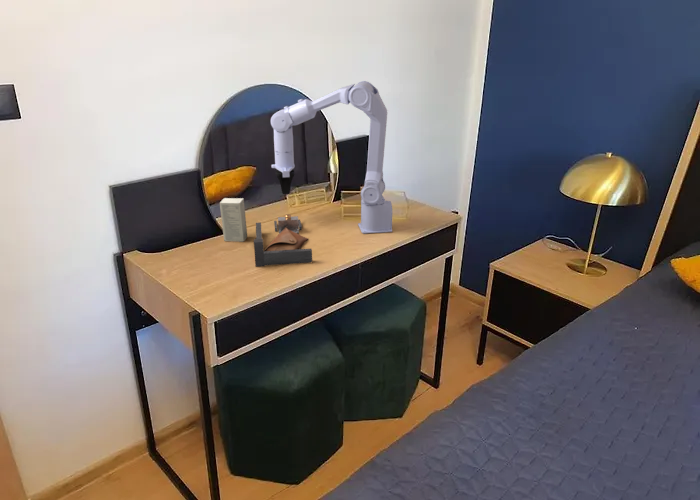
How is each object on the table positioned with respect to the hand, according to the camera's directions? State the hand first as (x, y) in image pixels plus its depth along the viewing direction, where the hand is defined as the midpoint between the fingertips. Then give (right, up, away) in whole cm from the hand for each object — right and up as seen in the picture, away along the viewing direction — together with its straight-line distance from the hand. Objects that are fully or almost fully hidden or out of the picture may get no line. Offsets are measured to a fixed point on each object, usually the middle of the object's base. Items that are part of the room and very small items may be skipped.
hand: (285, 193), depth 178 cm
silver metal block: (+1, -12, -3) cm, 13 cm away
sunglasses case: (+2, -18, -15) cm, 23 cm away
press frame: (0, -16, -11) cm, 19 cm away
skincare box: (-14, -15, -8) cm, 22 cm away
